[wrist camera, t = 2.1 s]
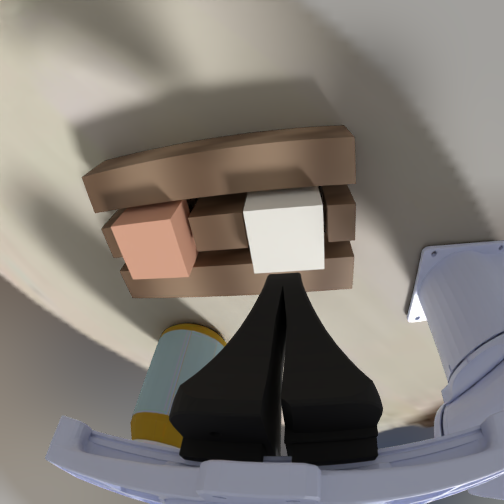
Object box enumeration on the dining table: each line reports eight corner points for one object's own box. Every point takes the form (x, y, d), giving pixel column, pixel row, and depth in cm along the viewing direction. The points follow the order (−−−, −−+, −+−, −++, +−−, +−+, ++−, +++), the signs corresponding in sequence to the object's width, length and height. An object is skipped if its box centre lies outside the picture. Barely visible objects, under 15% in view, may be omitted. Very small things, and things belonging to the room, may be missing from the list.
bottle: (155, 315, 28) (101, 462, 16) (229, 323, 27) (197, 487, 15) (169, 358, 32) (132, 483, 20) (232, 366, 31) (210, 501, 19)
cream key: (317, 182, 17) (322, 205, 15) (320, 240, 20) (324, 268, 17) (249, 188, 18) (243, 211, 16) (258, 244, 20) (254, 273, 18)
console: (343, 125, 17) (354, 137, 14) (345, 261, 22) (352, 288, 20) (104, 160, 19) (81, 177, 17) (145, 273, 25) (132, 298, 22)
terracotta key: (185, 195, 19) (170, 219, 16) (200, 248, 21) (189, 277, 18) (130, 203, 19) (110, 226, 17) (148, 253, 22) (133, 279, 19)
